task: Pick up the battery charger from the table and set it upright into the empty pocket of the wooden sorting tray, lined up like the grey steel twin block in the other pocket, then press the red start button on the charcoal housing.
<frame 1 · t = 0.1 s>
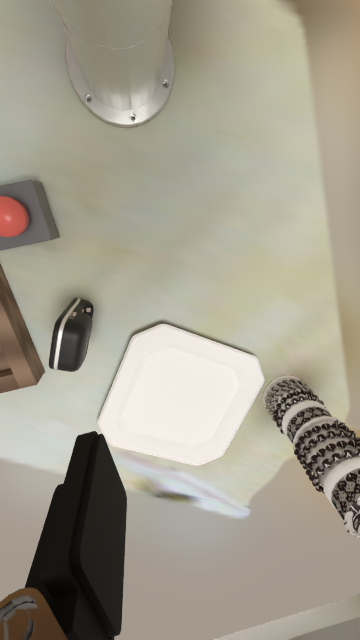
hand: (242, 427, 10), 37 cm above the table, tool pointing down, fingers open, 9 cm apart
decorative candle: (283, 394, 56), on the table
plate: (180, 395, 53), on the table
start button: (6, 216, 34), point 6 cm above the table, slide at 0.0 cm
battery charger: (83, 319, 46), on the table
button housing: (25, 216, 40), on the table
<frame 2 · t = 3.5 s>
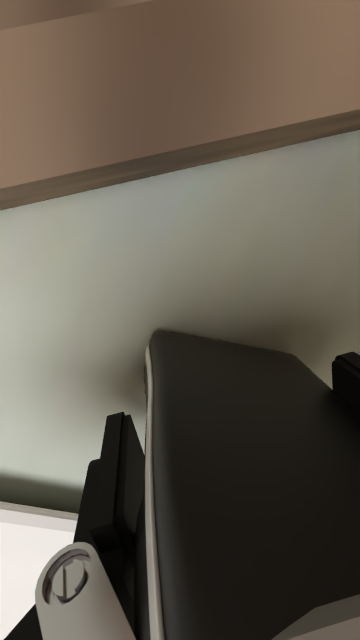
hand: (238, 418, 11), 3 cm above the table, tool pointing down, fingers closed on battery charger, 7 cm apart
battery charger: (214, 375, 13), on the table, touching gripper
when the fingers open (6 cm above the table, at t = 9.2 s): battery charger drops 1 cm, resting on wooden sorting tray.
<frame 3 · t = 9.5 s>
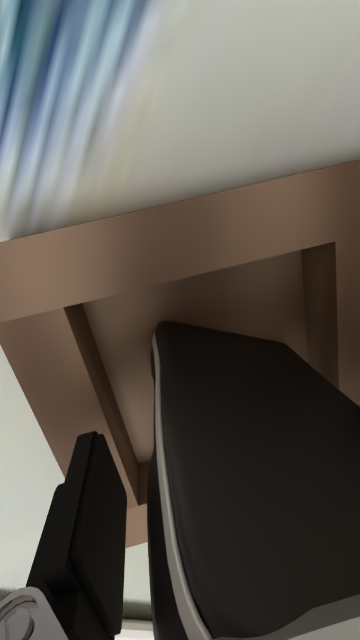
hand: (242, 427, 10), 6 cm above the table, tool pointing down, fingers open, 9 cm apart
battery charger: (213, 362, 15), point 1 cm above the table, touching wooden sorting tray
wooden sorting tray: (318, 320, 16), on the table
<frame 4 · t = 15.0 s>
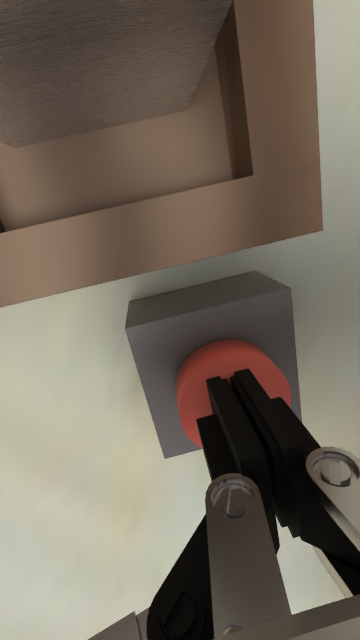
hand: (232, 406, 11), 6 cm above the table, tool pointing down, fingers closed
start button: (230, 396, 12), point 5 cm above the table, slide at 0.8 cm, touching gripper
button housing: (204, 344, 17), on the table
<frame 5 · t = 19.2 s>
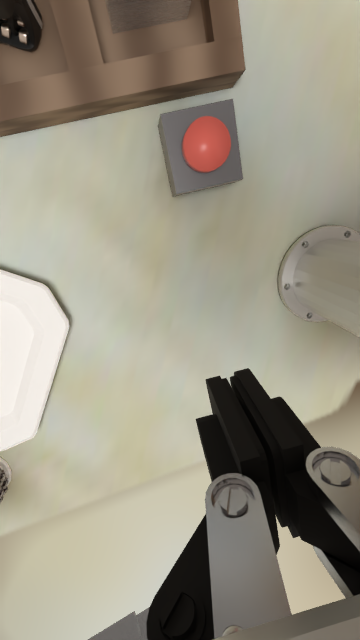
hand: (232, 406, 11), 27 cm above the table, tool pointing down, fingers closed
start button: (205, 146, 28), point 5 cm above the table, slide at 1.1 cm
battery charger: (3, 29, 26), point 1 cm above the table, touching wooden sorting tray
button housing: (196, 155, 33), on the table
wooden sorting tray: (76, 22, 28), on the table
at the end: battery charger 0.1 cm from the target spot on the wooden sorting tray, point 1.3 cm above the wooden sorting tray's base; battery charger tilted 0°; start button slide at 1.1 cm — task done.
